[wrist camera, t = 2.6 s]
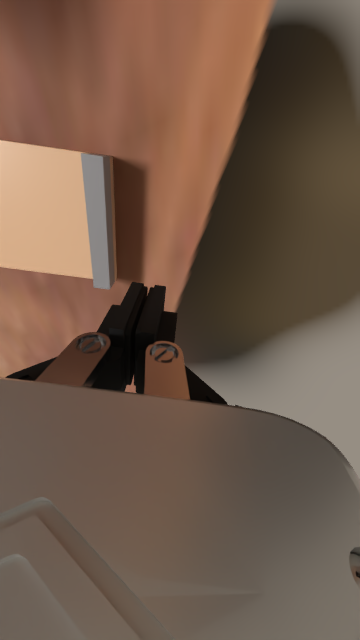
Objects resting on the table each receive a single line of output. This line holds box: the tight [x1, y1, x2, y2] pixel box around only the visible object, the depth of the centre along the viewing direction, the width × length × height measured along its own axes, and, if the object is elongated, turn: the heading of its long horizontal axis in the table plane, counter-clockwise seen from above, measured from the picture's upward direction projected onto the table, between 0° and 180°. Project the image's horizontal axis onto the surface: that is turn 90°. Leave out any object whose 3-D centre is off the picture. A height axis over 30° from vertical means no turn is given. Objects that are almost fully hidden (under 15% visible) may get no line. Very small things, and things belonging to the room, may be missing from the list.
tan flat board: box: [0, 140, 117, 289], centre depth 21 cm, size 11×17×3 cm, turn 83°
